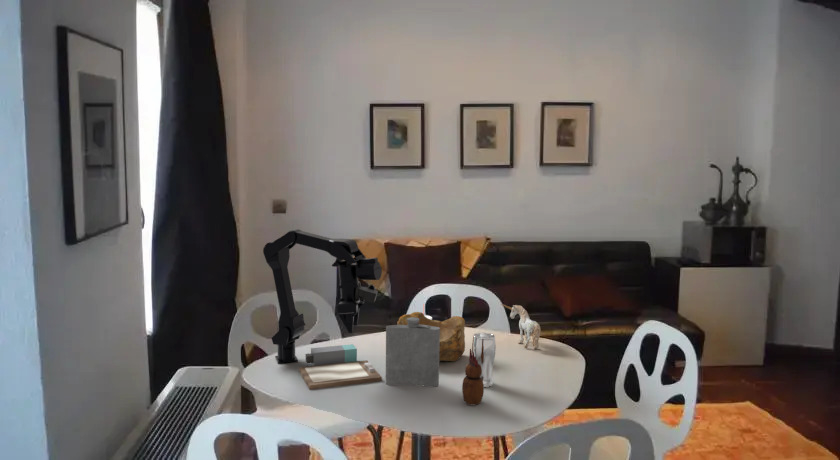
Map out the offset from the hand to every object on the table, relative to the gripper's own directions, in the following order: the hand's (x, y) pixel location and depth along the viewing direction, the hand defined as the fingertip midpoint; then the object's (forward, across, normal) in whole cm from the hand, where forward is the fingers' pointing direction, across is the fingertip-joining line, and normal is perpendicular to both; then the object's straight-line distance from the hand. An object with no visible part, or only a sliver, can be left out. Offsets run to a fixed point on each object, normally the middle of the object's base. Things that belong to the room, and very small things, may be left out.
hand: (353, 329), depth 207 cm
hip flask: (+16, -10, -18) cm, 26 cm away
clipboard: (+13, -6, +4) cm, 15 cm away
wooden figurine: (+17, -22, -36) cm, 46 cm away
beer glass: (+17, -8, -39) cm, 44 cm away
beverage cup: (+14, +32, -19) cm, 40 cm away
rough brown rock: (+15, +12, -23) cm, 30 cm away
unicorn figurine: (+18, +31, -53) cm, 64 cm away
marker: (+12, +6, +8) cm, 16 cm away
